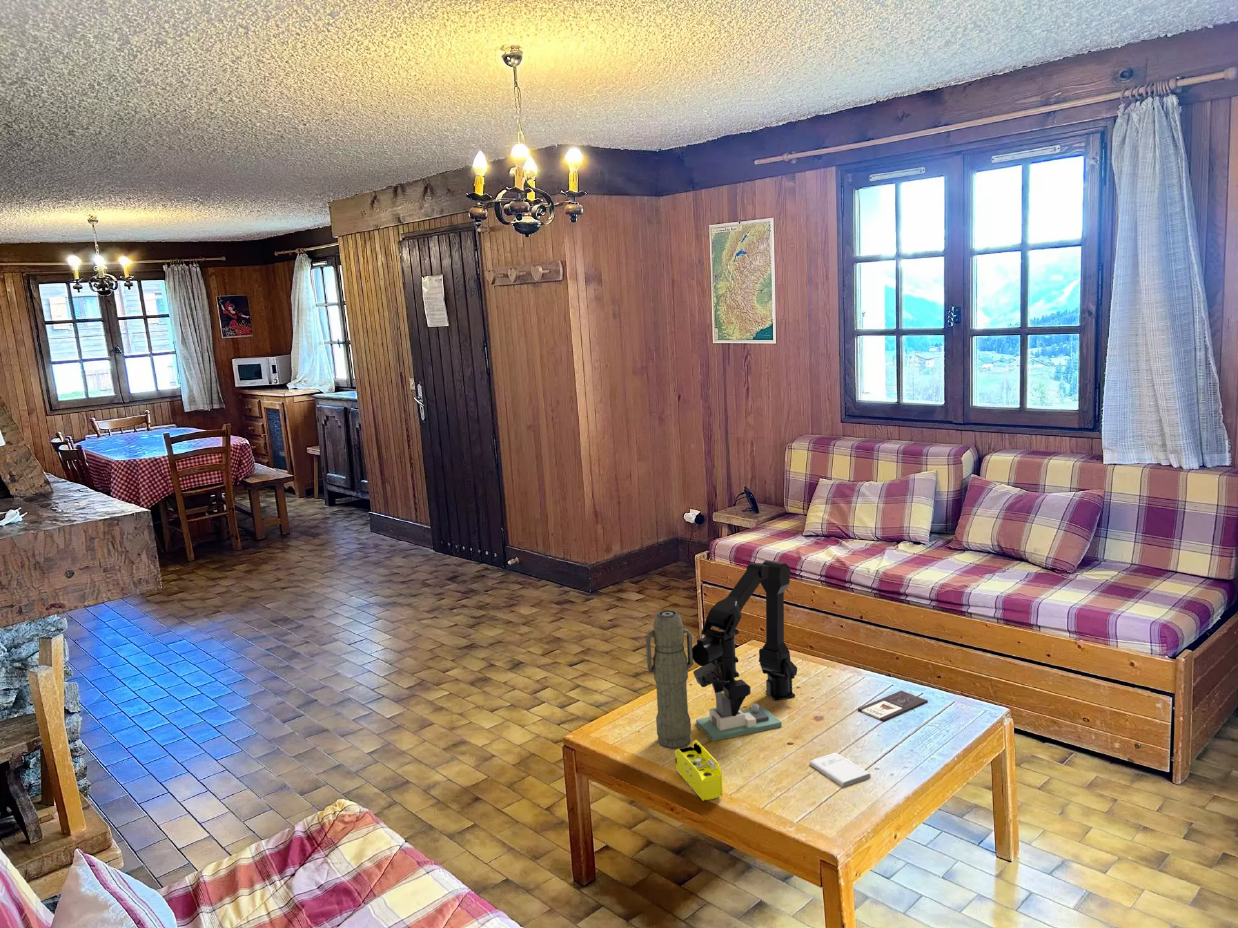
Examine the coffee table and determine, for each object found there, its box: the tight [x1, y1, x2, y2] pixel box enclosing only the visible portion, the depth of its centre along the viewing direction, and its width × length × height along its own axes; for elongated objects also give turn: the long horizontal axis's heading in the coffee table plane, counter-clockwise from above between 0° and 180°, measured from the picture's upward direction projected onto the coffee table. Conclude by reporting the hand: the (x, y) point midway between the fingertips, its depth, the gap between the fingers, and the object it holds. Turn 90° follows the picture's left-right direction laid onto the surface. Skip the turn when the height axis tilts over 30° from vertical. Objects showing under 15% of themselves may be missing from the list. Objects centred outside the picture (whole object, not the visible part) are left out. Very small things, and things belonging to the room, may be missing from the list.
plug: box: [715, 691, 732, 718], centre depth 244 cm, size 4×4×9 cm
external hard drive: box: [809, 752, 871, 788], centre depth 219 cm, size 2×8×12 cm
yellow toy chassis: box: [674, 739, 724, 802], centre depth 216 cm, size 16×6×8 cm, turn 19°
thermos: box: [645, 609, 694, 750], centre depth 236 cm, size 9×12×35 cm
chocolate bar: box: [857, 690, 929, 722], centre depth 251 cm, size 9×1×18 cm
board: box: [695, 703, 783, 742], centre depth 245 cm, size 20×11×4 cm, turn 108°
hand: (726, 708), depth 244 cm, fingers open, 9 cm apart
